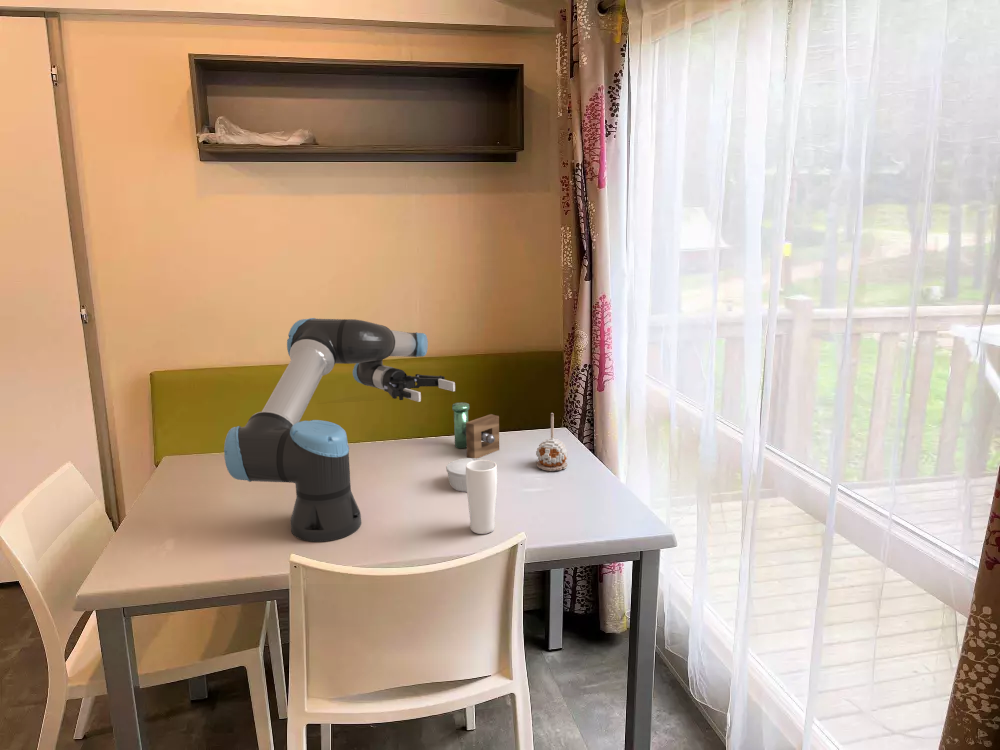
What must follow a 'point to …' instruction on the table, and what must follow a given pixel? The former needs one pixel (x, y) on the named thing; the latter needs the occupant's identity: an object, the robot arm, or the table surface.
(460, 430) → the green tall capped cylinder
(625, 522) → the table surface
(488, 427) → the brown striped block
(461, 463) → the ramekin
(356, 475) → the table surface
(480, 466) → the drinking glass
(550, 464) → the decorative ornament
